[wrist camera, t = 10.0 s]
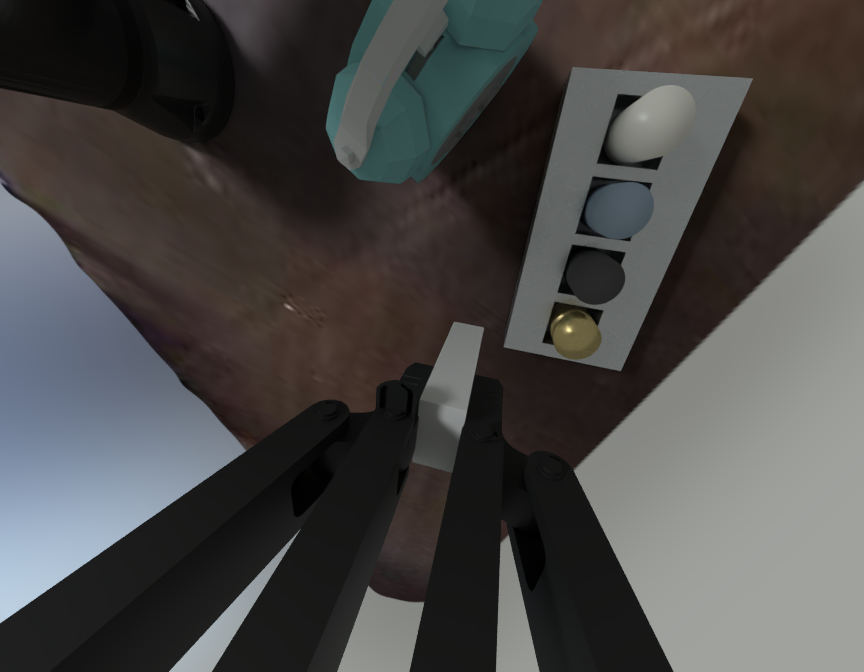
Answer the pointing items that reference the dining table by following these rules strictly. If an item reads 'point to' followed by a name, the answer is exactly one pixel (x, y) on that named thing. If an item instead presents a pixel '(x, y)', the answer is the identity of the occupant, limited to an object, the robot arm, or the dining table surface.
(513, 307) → the white socket board
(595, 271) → the black rounded cylinder
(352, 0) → the dining table surface
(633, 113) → the white egg
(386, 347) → the dining table surface
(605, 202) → the blue ovoid
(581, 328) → the gold rounded cylinder
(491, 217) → the dining table surface
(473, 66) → the alarm clock
